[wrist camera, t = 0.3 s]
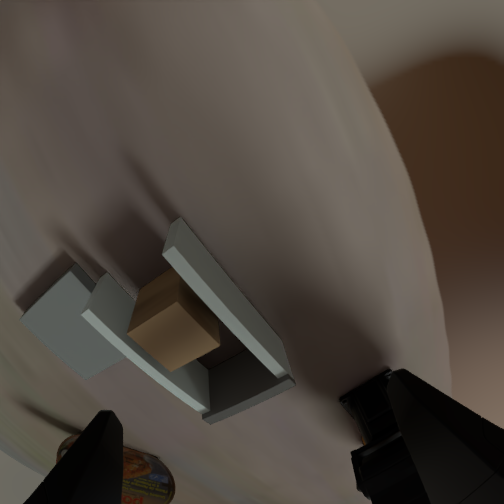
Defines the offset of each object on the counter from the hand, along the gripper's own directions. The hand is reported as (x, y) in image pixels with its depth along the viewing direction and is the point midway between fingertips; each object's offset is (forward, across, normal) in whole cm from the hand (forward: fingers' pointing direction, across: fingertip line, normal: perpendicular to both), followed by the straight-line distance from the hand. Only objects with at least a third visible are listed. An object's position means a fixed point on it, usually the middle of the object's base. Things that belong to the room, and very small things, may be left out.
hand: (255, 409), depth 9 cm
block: (+13, +4, +4) cm, 14 cm away
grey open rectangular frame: (+13, +3, +6) cm, 15 cm away
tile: (+13, +13, +6) cm, 19 cm away
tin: (+14, +18, +26) cm, 34 cm away
